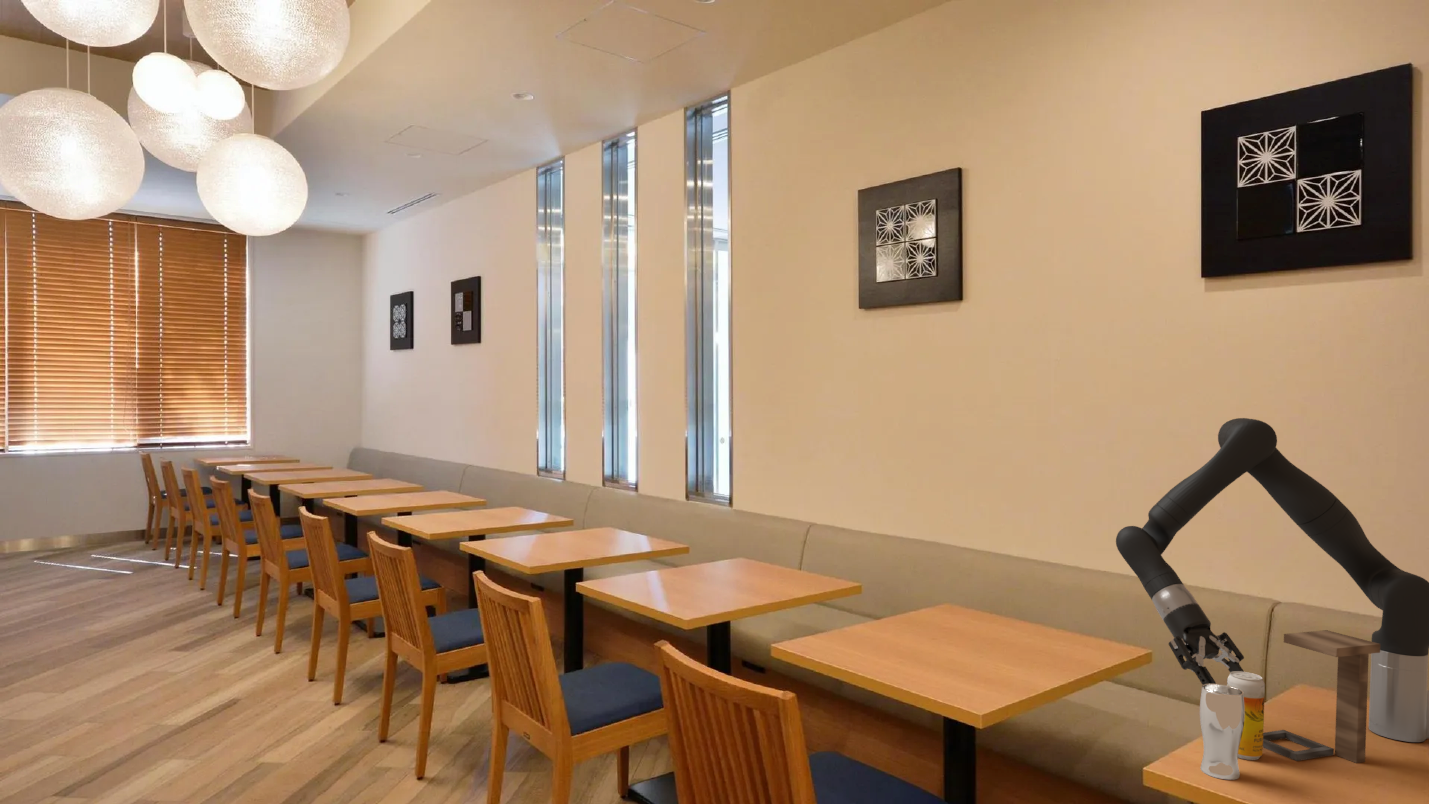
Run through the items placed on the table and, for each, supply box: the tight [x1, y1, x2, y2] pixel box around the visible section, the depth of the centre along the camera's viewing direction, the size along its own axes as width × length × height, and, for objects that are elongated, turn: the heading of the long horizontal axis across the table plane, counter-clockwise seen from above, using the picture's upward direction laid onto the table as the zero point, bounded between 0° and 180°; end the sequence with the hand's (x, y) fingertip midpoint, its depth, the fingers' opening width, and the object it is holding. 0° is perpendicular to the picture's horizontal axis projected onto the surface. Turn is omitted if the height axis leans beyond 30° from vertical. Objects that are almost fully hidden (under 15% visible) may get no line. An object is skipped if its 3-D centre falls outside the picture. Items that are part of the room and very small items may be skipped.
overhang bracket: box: [1263, 629, 1380, 764], centre depth 169 cm, size 13×16×23 cm
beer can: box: [1226, 671, 1266, 761], centre depth 167 cm, size 6×6×15 cm
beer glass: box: [1199, 683, 1245, 781], centre depth 158 cm, size 7×7×15 cm
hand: (1228, 685), depth 171 cm, fingers open, 8 cm apart
